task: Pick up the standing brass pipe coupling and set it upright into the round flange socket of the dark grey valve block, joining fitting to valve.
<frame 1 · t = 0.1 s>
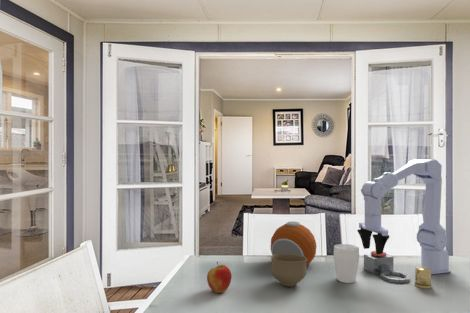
hand: (372, 251, 131), 10 cm above the table, fingers open, 7 cm apart
fitting: (423, 286, 124), on the table
apple: (219, 292, 119), on the table
cup: (346, 280, 130), on the table
bowl: (288, 285, 125), on the table
valve: (394, 278, 131), on the table
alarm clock: (293, 264, 149), on the table
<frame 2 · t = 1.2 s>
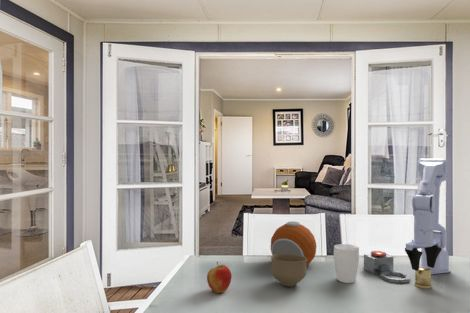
hand: (423, 268, 124), 6 cm above the table, fingers open, 7 cm apart
nothing on the table moved.
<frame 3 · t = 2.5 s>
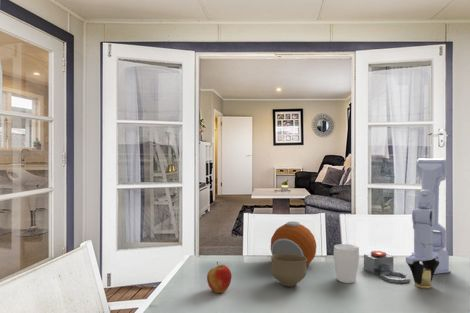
hand: (423, 281, 124), 2 cm above the table, fingers closed on fitting, 5 cm apart
fitting: (423, 286, 124), on the table, touching gripper
everything else where it was.
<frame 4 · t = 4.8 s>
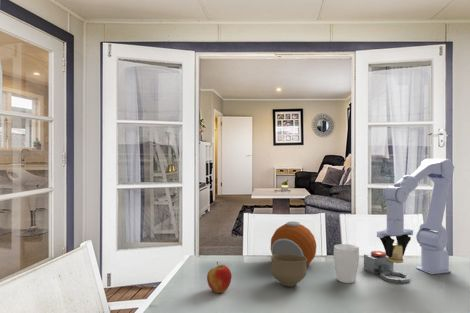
hand: (395, 255, 131), 8 cm above the table, fingers closed on fitting, 5 cm apart
fitting: (395, 260, 131), point 7 cm above the table, touching gripper
everything else where it was.
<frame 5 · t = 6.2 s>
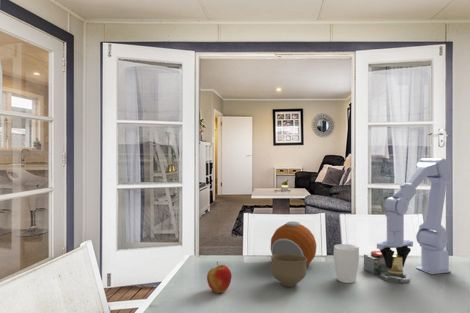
hand: (394, 267, 131), 4 cm above the table, fingers closed on fitting, 5 cm apart
fitting: (395, 272, 131), point 2 cm above the table, touching gripper
everything else where it was.
when the fingers open (2 cm above the table, at t = 7.5 s): fitting stays where it is, resting in valve.
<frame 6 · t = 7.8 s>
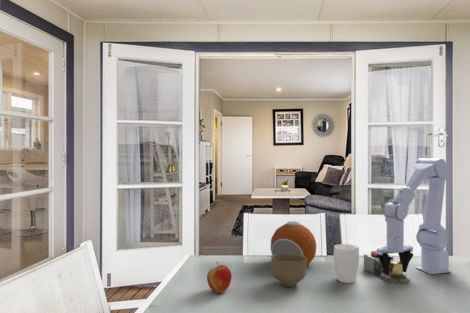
hand: (394, 272, 131), 2 cm above the table, fingers open, 7 cm apart
fitting: (395, 278, 131), resting in valve
everything else where it was.
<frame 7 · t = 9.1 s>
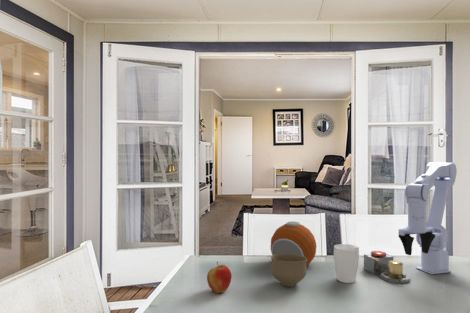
hand: (416, 253, 130), 9 cm above the table, fingers open, 7 cm apart
nothing on the table moved.
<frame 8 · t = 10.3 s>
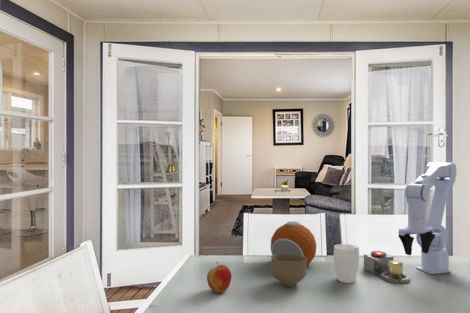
hand: (416, 253, 130), 9 cm above the table, fingers open, 7 cm apart
nothing on the table moved.
at the end: fitting 0.2 cm off-centre on the valve, point 0.0 cm above the valve's base; fitting tilted 0°; the gripper is holding nothing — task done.
